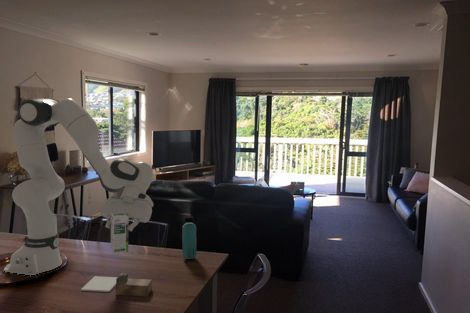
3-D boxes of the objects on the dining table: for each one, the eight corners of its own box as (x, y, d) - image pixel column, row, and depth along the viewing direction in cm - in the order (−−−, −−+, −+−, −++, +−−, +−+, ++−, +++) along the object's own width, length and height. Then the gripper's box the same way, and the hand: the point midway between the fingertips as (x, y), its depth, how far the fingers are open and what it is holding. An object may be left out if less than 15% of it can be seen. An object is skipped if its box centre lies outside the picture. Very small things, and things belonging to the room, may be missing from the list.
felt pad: (81, 290, 137) (81, 289, 137) (94, 277, 148) (94, 276, 148) (109, 292, 136) (109, 290, 136) (121, 278, 147) (121, 277, 147)
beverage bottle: (194, 262, 163) (194, 219, 161) (180, 261, 165) (179, 218, 162) (198, 257, 170) (198, 215, 167) (184, 255, 171) (184, 214, 169)
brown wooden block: (115, 294, 134) (115, 279, 134) (121, 288, 139) (120, 273, 138) (147, 296, 133) (147, 280, 133) (152, 289, 138) (151, 274, 137)
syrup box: (112, 254, 137) (113, 216, 136) (110, 248, 143) (110, 212, 141) (128, 252, 140) (128, 215, 138) (125, 246, 145) (125, 211, 143)
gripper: (106, 191, 148) (91, 221, 140) (152, 196, 143) (139, 228, 135) (112, 199, 153) (98, 229, 145) (157, 204, 148) (145, 235, 140)
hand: (118, 228), depth 140 cm, fingers closed on syrup box, 8 cm apart
